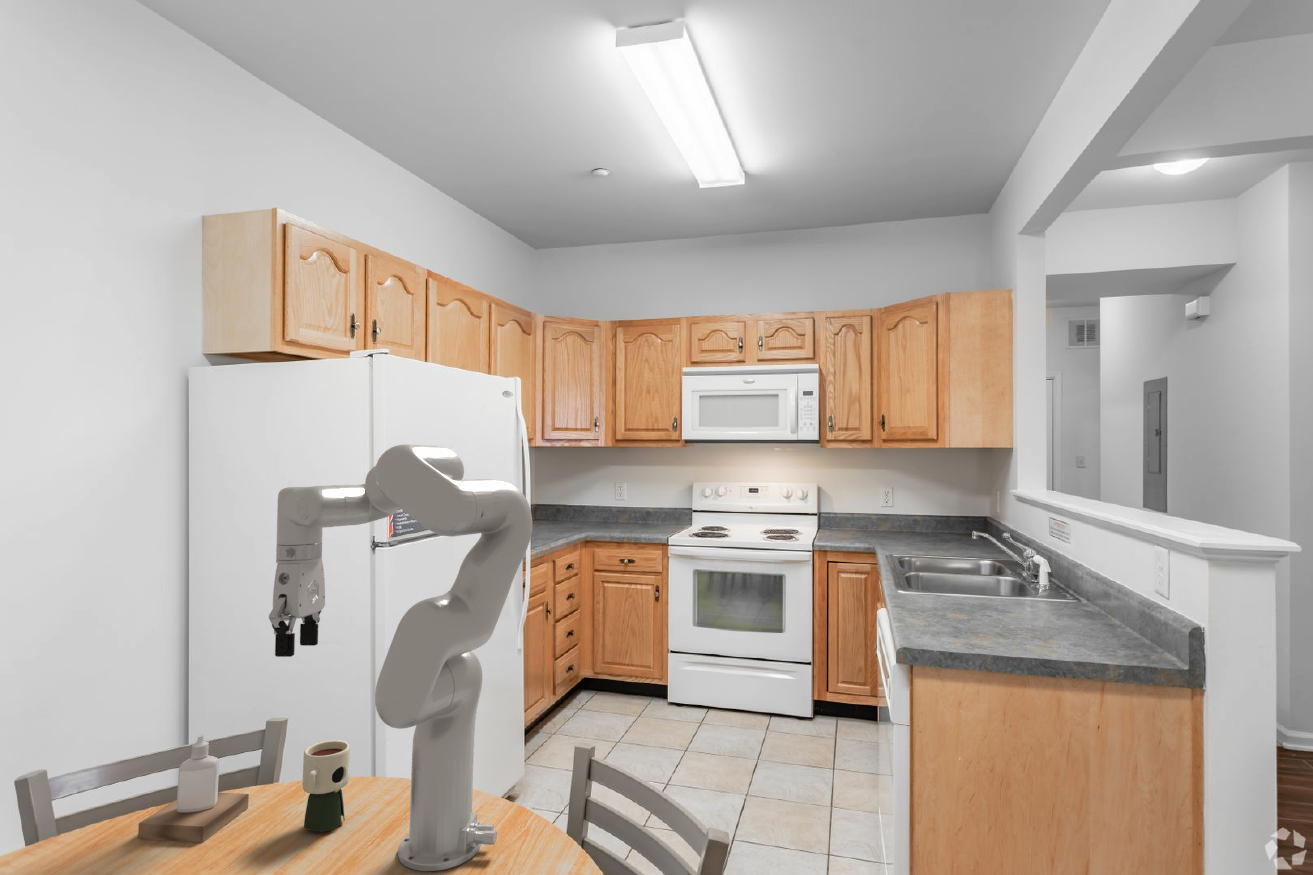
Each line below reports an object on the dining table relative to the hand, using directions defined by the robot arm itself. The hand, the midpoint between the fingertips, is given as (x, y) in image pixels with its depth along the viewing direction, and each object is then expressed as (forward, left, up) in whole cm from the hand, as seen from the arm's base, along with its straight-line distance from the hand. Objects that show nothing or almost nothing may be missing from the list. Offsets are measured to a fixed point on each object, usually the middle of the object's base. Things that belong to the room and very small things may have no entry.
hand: (297, 649), depth 124 cm
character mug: (-11, +8, -27) cm, 30 cm away
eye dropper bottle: (+11, +9, -25) cm, 28 cm away
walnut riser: (+11, +9, -27) cm, 31 cm away
